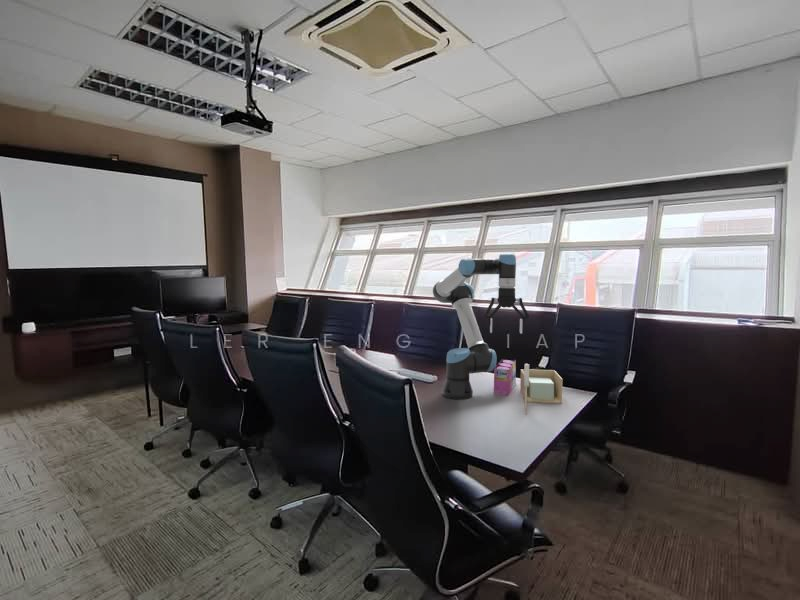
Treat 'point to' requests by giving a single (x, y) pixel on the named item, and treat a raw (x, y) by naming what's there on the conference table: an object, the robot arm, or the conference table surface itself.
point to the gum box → (504, 377)
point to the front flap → (526, 383)
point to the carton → (542, 386)
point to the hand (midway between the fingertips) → (505, 332)
